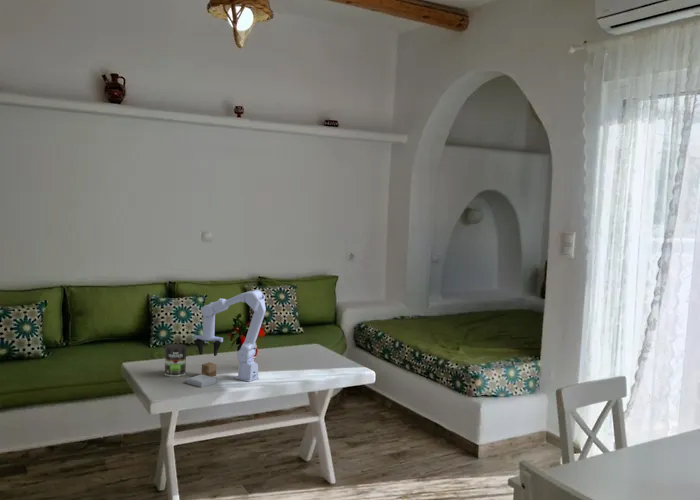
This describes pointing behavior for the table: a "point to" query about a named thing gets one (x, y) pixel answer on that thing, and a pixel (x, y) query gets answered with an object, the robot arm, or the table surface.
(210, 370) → the walnut block
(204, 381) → the pedestal
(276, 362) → the table surface
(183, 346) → the coffee can
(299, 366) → the table surface
